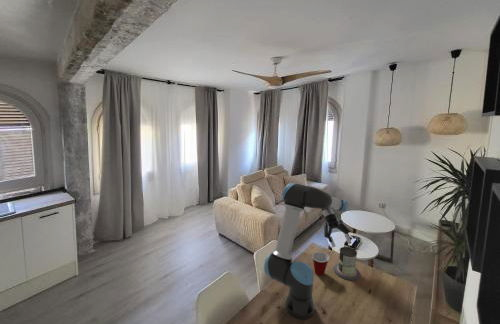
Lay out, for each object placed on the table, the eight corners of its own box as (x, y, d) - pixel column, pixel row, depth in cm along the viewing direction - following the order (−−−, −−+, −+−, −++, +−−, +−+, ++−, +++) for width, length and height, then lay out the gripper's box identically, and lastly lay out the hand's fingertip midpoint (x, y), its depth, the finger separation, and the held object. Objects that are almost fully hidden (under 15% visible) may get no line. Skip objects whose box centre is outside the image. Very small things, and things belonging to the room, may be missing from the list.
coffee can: (334, 269, 155) (336, 249, 153) (344, 264, 161) (346, 245, 159) (348, 277, 147) (350, 257, 144) (358, 272, 153) (360, 252, 150)
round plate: (335, 278, 148) (336, 276, 148) (332, 263, 163) (332, 261, 163) (362, 282, 145) (363, 280, 145) (356, 266, 161) (356, 265, 160)
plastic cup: (307, 268, 157) (309, 252, 155) (323, 267, 159) (324, 251, 157) (314, 279, 147) (316, 261, 144) (330, 277, 148) (332, 260, 146)
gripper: (340, 215, 176) (353, 243, 165) (312, 219, 168) (324, 249, 156) (346, 211, 171) (360, 240, 159) (317, 215, 162) (330, 246, 151)
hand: (342, 245), depth 158 cm, fingers open, 13 cm apart
